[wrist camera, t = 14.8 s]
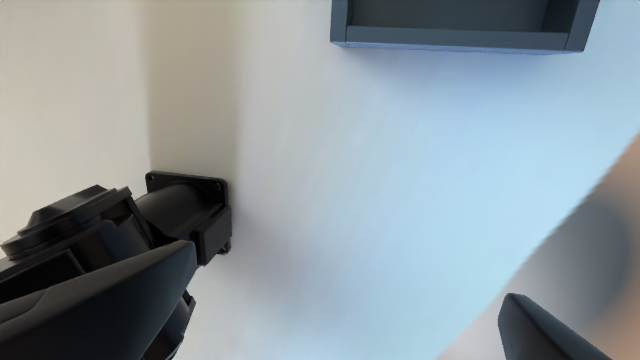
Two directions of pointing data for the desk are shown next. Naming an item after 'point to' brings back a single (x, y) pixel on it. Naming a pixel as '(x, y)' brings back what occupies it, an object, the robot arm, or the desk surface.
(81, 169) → the desk surface
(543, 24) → the tote
